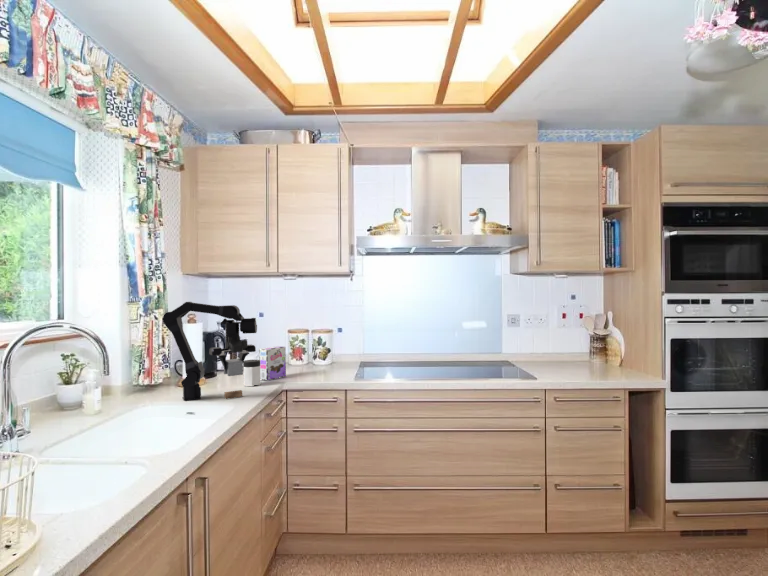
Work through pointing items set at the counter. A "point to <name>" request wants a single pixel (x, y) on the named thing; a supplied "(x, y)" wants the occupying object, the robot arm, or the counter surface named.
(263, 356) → the candy box
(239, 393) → the brown rectangular block
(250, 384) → the jar
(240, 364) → the gray rectangular block
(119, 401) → the counter surface
